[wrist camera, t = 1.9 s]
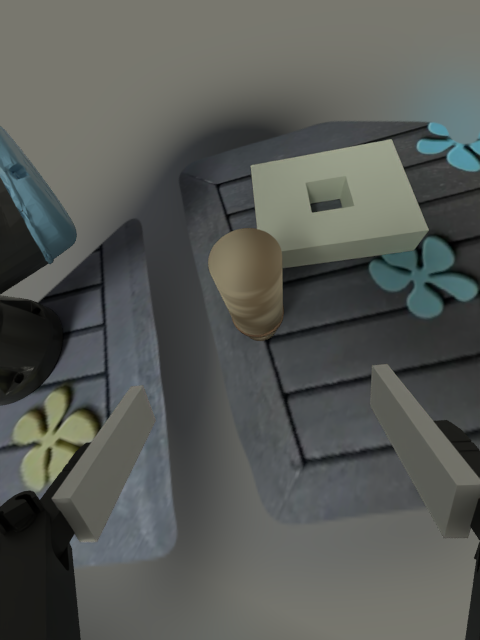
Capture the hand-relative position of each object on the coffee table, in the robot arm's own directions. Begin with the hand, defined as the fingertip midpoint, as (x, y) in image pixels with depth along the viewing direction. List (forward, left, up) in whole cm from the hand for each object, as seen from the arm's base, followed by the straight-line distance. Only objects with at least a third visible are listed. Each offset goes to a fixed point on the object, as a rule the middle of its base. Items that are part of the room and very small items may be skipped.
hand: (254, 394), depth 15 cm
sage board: (+11, +26, -16) cm, 33 cm away
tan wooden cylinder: (0, +10, -16) cm, 19 cm away
